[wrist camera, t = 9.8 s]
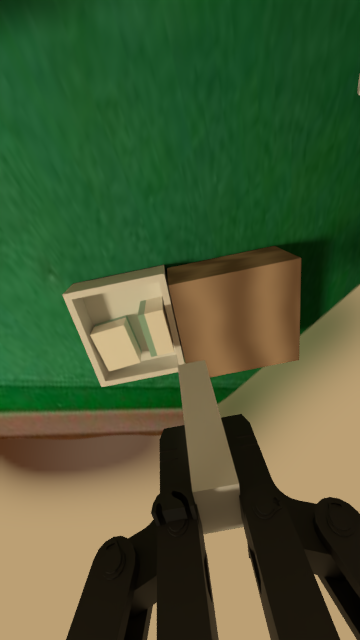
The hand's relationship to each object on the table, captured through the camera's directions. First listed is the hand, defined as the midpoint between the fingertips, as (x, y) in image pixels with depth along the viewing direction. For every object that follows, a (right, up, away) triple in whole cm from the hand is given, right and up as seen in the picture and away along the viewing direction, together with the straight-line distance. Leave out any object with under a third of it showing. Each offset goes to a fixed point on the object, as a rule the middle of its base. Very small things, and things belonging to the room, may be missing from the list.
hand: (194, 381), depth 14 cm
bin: (-7, +3, +22) cm, 23 cm away
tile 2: (-2, +3, +19) cm, 19 cm away
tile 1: (-9, 0, +19) cm, 21 cm away
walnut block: (+6, +6, +21) cm, 23 cm away
